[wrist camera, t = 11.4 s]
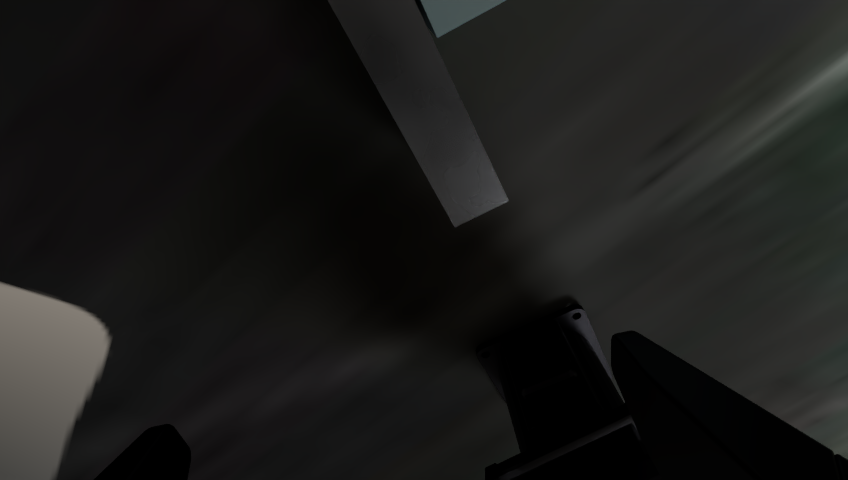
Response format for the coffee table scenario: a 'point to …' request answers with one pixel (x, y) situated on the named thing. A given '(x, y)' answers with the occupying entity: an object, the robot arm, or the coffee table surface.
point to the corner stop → (423, 102)
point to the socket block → (452, 12)
